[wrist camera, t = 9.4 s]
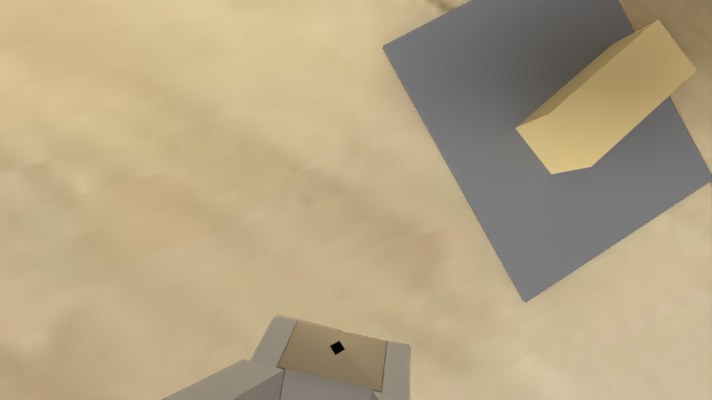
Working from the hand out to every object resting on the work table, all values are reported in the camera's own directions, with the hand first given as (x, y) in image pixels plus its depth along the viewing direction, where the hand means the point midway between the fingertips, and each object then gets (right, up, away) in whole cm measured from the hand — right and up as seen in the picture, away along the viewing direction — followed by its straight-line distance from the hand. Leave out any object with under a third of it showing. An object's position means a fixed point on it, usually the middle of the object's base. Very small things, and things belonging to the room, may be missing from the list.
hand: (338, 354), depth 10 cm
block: (+16, +8, +25) cm, 31 cm away
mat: (+17, +11, +29) cm, 35 cm away
